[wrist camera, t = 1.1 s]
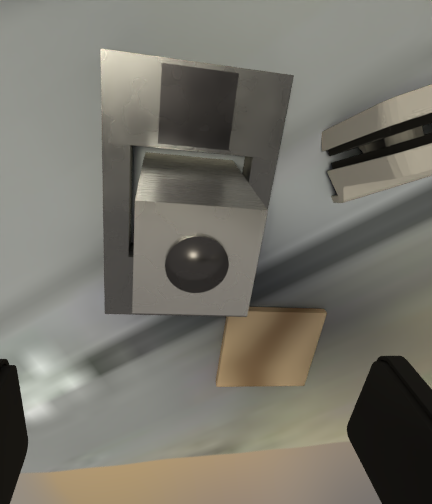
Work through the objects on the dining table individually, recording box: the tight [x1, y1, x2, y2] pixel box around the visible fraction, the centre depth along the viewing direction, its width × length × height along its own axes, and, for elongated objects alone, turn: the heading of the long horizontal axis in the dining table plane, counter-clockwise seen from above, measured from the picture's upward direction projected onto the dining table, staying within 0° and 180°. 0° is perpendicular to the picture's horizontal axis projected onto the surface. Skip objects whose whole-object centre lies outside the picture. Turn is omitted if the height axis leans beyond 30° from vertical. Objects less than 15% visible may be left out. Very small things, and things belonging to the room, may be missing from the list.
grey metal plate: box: [101, 49, 294, 317], centre depth 23 cm, size 10×16×2 cm, turn 173°
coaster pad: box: [216, 307, 327, 387], centre depth 31 cm, size 8×8×1 cm
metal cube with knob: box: [132, 152, 268, 316], centre depth 20 cm, size 6×6×9 cm
